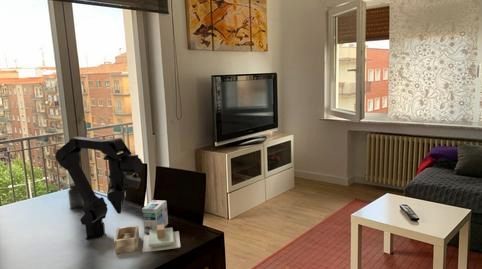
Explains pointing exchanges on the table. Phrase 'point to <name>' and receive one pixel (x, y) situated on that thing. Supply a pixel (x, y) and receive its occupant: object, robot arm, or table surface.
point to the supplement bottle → (75, 197)
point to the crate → (126, 239)
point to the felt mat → (170, 246)
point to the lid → (161, 236)
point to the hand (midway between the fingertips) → (120, 209)
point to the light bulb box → (154, 215)
